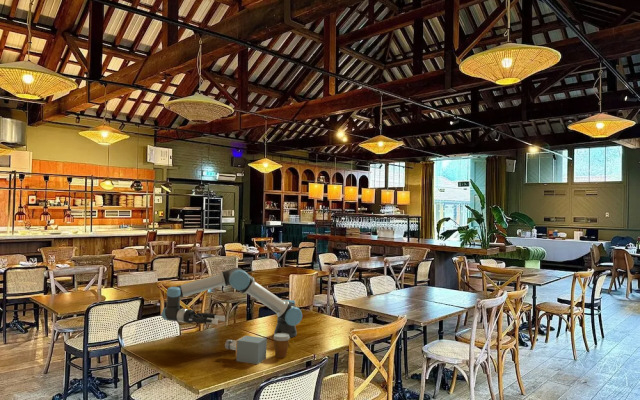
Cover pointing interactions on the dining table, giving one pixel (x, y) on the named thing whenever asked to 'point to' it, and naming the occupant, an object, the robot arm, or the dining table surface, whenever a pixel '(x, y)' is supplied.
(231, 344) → the steel peg
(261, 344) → the block
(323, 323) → the dining table surface
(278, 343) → the disposable coffee cup
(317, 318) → the dining table surface
